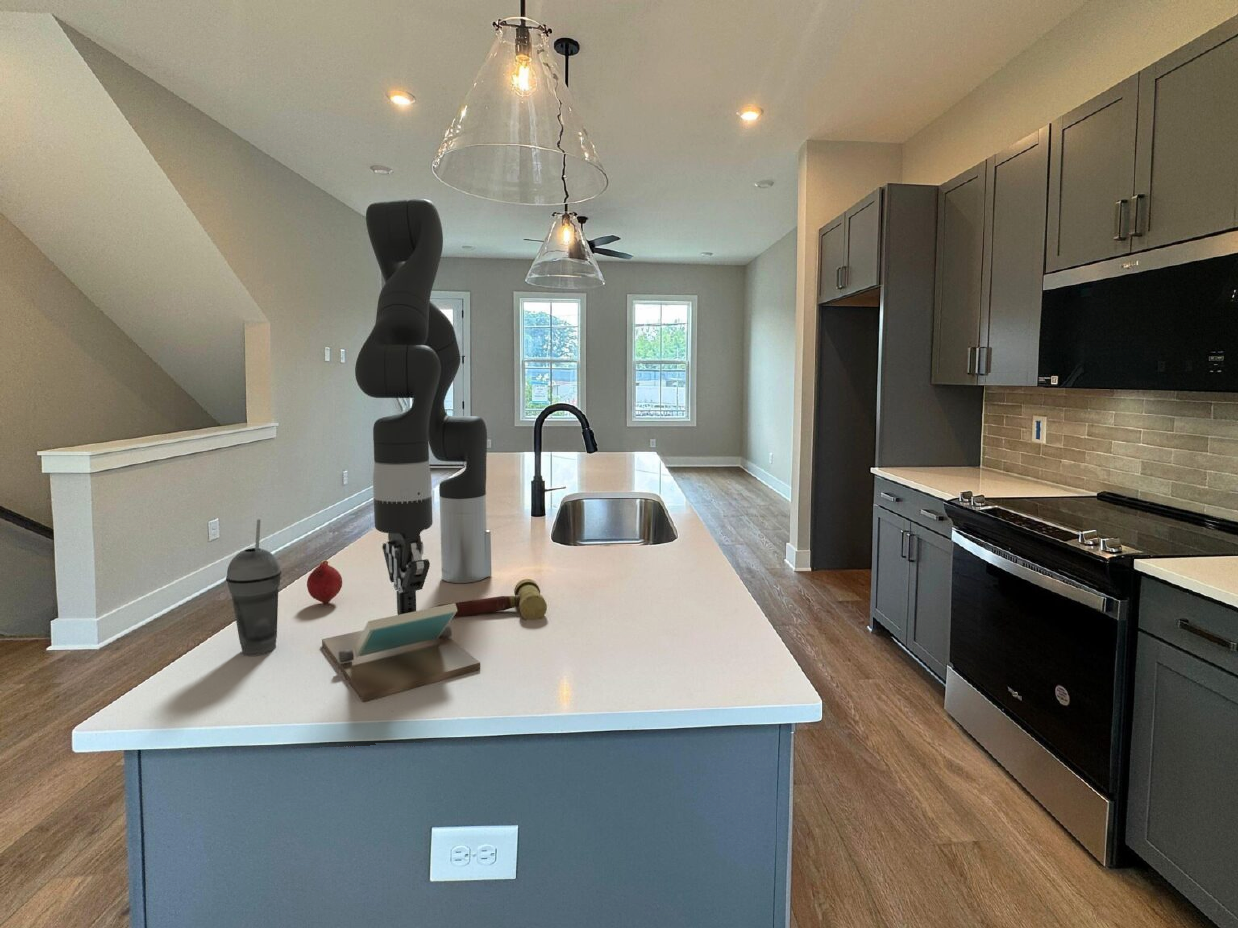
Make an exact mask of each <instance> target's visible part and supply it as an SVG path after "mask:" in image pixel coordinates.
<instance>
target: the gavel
mask: <svg viewBox="0 0 1238 928" xmlns="http://www.w3.org/2000/svg"><path fill="white" fill-rule="evenodd" d="M453 603H455V604H456V607H457V610H458V611H457V612H456V614H455V615H454V617H453V618H452V619H455V618H460V617H469V616H476V615H483V614H491V613H496V612H503V611H506V610H510V609H514V608H518V609H519V612H520V615H521V616H522V618H524V620H526V621H527V620H528V621H529V620H540V619H542V618H543V617H544V616H545V615H546V614H547V610H548V609H547V608H548V605H547V602H546V600H545V597H544V596H543V595H542V594H541V589H540V587H539V584H538V583H537V582H536V581H535V580H533V579H530V578H524V579H521V580H519V581H518V582H517V583H516V585H515V587H514V589H513V595H501V596H494V597H487V598H486V597H485V598H480V599H471V600H466V601H465V600H464V601H458V602H452V603H451V602H449V603H445V604H438V605H437V606H435V607H439V606H443V605H448V604H453Z"/></svg>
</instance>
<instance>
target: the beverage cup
mask: <svg viewBox="0 0 1238 928" xmlns="http://www.w3.org/2000/svg"><path fill="white" fill-rule="evenodd" d="M260 532H261V519H258V518H257V520H256V529H255V545H254V547H252V548H247V549H244V550H242V551H240V552H239V553H237V554H236V555H235V556H234V557H233V558H232V559H231V560H230V562H229V564H228V567H227V572H226V577H225V581H226V582H227V587H228V590H229V593H230V594H231V601H232V606H233V611H234V617H235V623H236V629H237V633H238V634H237V635H238V640H239V644H240V647H241V653H242V654H243V655H244V656H251V657H252V656H260V655H265V654H268V653H270V652H272V651H274V650H275V649H276V648H277V637H278V613H279V610H278V609H279V608H278V607H279V587H280V583H281V575H282V570H281V568H280V565H279V564H280V563H279V561H278V560H277V558H276V556H275V555H274V554H273V553H272V552H270V551H268V550H266V549H264V548H260V539H261V538H260V537H261V536H260V535H261V533H260Z"/></svg>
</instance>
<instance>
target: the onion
mask: <svg viewBox="0 0 1238 928" xmlns="http://www.w3.org/2000/svg"><path fill="white" fill-rule="evenodd" d="M306 587H307V588H306V589H307V592H308V594H309V595H310V597H312V598H313V600H314V599H315V600H317V601H318V602H319V603H323V604H328V603H330V602H331V601H332V600H333V599H334V598H335V597H337V595H338V594H339V593H340V591H341V589H342V588H343V578H342V575H341V574H340V572H339V571H338V570H337V569H336V568H334V567H333V566H331V565H329V561H328V560H327V559H324V560H322V561H320V563H319V565H318V566H317V567H315V568H314V569H313V570H312V572H311V573H310V574H309V575H308V578H307V581H306Z"/></svg>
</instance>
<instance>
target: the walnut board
mask: <svg viewBox="0 0 1238 928" xmlns="http://www.w3.org/2000/svg"><path fill="white" fill-rule="evenodd" d="M363 631H364V629H361V630H358V631H353V632H349V633H345V634H340V635H335V636H332V637H331V636H330V637H326V638H322V639H321V643H322V644H321V645H322V647H323V648H324V650H325V652H327V654H328V656H329V657H330V659H331V660H332V661H333V662H334V663H335V665H336V667H337V668H338V669H339V670H340V672H341V673H342V675H343V677H345V679H346V680H347V683H349V685H351V687H352V688H353V690H354V691H355V693H356V694H357V695H358V697H359V698H360V700H361V701H362V702H363V703H365V702H369V701H372V700H373V701H374V700H375V699H376V700H377V699H379V698H383V697H386V696H390V695H394V694H397V693H400V692H404V691H408V690H411V689H415V688H420V687H422V686H425V685H429V684H433V683H436V682H440V681H443V680H448V679H451V678H455V677H458V676H462V675H464V674H469V673H471V672H472V673H473V672H475V671H479V670H481V662H480V661H479V660H478V659H477V658H475V657H474V656H473V655H472V654H470V652H468V651H466V649H464V647H462V646H461V645H459V644H458V643H457V642H456V641H455V640H453V639H452V634H453V633H452V629H451V626H448V625H447V626H446V628H445V629H444V631H443V632H442V633H441V635H440V636H439V638H435V639H431V640H427V641H423V642H418V643H414V644H410V645H406V646H402V647H397V648H393V649H389V650H385V651H381V652H377V653H372V654H368V655H364V656H359V657H356V654H355V647H356V645H357V643H358V641H359V639H360V637H361V635H362V633H363Z"/></svg>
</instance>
